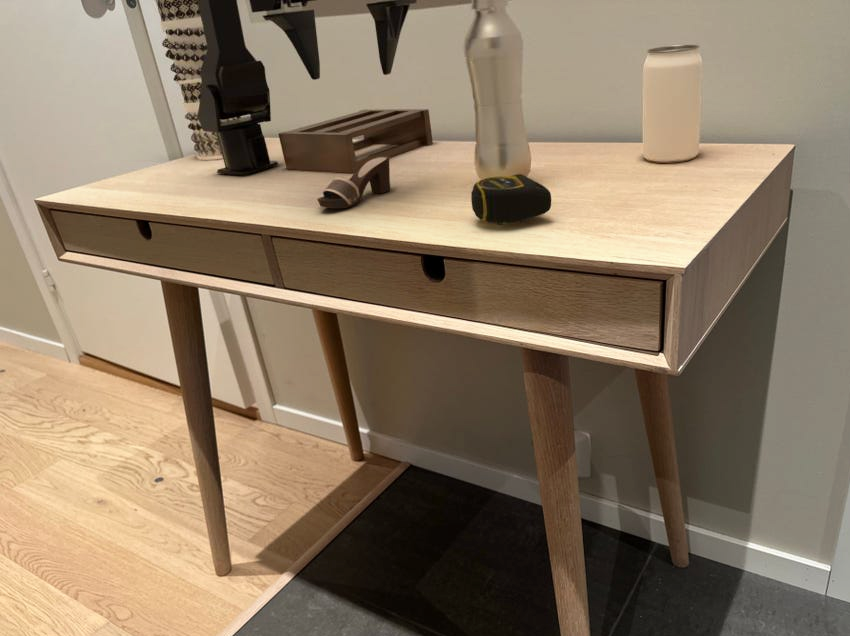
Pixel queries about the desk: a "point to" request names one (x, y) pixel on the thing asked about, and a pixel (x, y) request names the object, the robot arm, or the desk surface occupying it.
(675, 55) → the can
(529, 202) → the tape measure
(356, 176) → the heeled mule
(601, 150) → the desk surface
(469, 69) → the plastic bottle
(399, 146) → the shoe rack
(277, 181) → the desk surface
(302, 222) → the desk surface
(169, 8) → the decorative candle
